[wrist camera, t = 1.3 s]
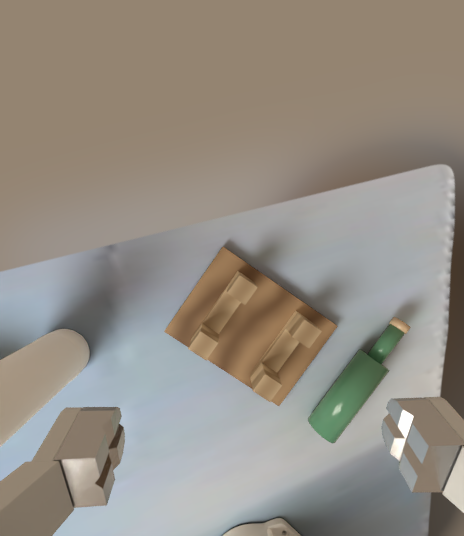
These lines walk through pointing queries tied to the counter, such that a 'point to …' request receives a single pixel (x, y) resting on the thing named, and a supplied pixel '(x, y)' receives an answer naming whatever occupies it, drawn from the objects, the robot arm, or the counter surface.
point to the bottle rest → (250, 327)
